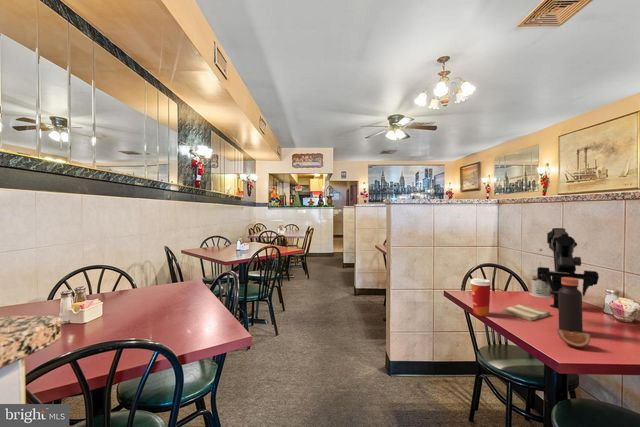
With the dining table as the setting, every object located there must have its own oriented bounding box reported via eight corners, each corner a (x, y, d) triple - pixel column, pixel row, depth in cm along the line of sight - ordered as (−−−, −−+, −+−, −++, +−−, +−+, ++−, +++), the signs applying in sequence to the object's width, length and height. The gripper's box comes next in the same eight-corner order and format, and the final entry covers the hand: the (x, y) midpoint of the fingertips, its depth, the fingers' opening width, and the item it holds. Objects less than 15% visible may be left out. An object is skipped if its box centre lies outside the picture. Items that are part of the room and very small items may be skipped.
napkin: (520, 307, 136) (520, 304, 136) (549, 315, 126) (549, 311, 126) (501, 312, 130) (501, 308, 130) (530, 321, 119) (530, 317, 119)
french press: (525, 292, 160) (524, 247, 160) (547, 292, 159) (547, 247, 159) (536, 297, 151) (536, 249, 151) (560, 298, 149) (560, 249, 149)
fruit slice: (558, 346, 97) (558, 331, 97) (556, 339, 103) (556, 325, 103) (592, 352, 92) (591, 337, 92) (588, 344, 98) (588, 330, 98)
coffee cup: (474, 309, 134) (473, 277, 134) (494, 313, 129) (493, 279, 129) (467, 314, 129) (467, 280, 129) (488, 318, 123) (487, 283, 123)
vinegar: (554, 330, 110) (553, 277, 110) (565, 327, 113) (564, 275, 113) (576, 337, 104) (575, 281, 104) (586, 333, 106) (586, 279, 106)
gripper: (537, 247, 123) (538, 279, 114) (597, 250, 112) (604, 285, 103) (536, 263, 129) (538, 294, 120) (593, 267, 118) (599, 301, 109)
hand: (568, 293), depth 113 cm, fingers open, 9 cm apart
